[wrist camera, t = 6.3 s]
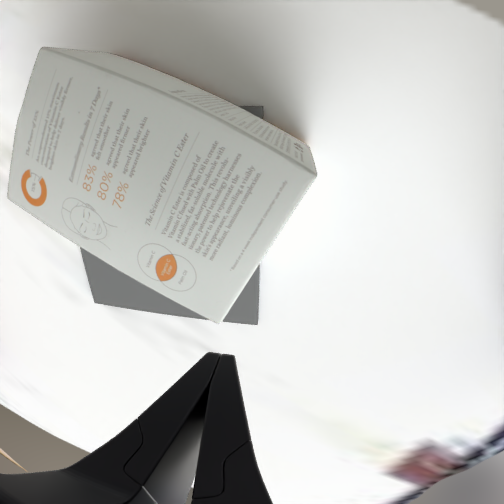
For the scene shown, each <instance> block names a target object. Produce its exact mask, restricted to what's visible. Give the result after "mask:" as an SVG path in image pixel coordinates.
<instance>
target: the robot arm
mask: <svg viewBox="0 0 504 504" xmlns="http://www.w3.org/2000/svg"><path fill="white" fill-rule="evenodd" d="M195 474H196V475H195ZM194 477H195V482H194V489H193V495H192V502H191V504H273V503H272V501H271V498H270V496H269V493H268V491H267V489H266V486H265V484H264V482H263V479H262V476H261V474H260V471H259V468H258V465H257V461H256V457H255V454H254V449H253V445H252V441H251V436H250V431H249V426H248V421H247V416H246V411H245V406H244V401H243V396H242V391H241V386H240V381H239V376H238V370H237V365H236V360H235V356H234V355H229V354H222V355H221V354H220V353H213V352H208V353H206V354H205V355H204V356H203V357H202V358H201V359H200V360H199V361H198V362H197V363H196V364H195V365H194V366H193V367H192V368H191V369H190V370H189V371H188V372H186V373H185V374H184V375H183V376H182V377H181V378H180V379H179V380H178V381H177V382H176V383H175V384H174V385H173V386H171V387H170V388H169V389H168V390H167V391H166V392H165V393H164V394H163V395H162V396H161V397H160V398H158V399H157V400H156V401H155V402H154V403H153V404H152V405H151V406H150V407H149V408H148V409H146V410H145V411H144V412H143V413H142V414H141V415H140V416H139V417H138V419H135V420H134V421H133V422H132V423H131V424H130V425H128V426H127V427H126V428H125V429H124V430H123V431H121V432H120V433H119V434H118V435H116V436H115V437H114V438H112V439H111V440H109V441H108V442H107V443H105V444H104V445H102V446H101V447H99V448H98V449H96V450H95V451H93V452H92V453H90V454H89V455H87V456H86V457H84V458H83V459H81V460H80V461H78V462H77V463H75V464H73V465H71V466H69V467H66V468H63V469H60V470H54V471H45V472H35V473H22V474H0V504H185V502H186V500H187V497H188V494H189V491H190V488H191V485H192V483H193V480H194Z"/></svg>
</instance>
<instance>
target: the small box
mask: <svg viewBox="0 0 504 504" xmlns="http://www.w3.org/2000/svg"><path fill="white" fill-rule="evenodd" d="M316 177H317V171H316V167H315V163H314V160H313V156H312V153H311V150H310V147H309V146H308V145H307V144H305V143H304V142H302V141H300V140H298V139H297V138H295V137H293V136H292V135H290V134H288V133H286V132H285V131H283V130H281V129H279V128H277V127H276V126H274V125H272V124H270V123H268V122H266V121H265V120H263V119H261V118H259V117H257V116H255V115H253V114H252V113H250V112H248V111H246V110H244V109H242V108H240V107H238V106H236V105H234V104H232V103H230V102H228V101H226V100H224V99H222V98H220V97H218V96H215V95H213V94H211V93H209V92H206V91H204V90H202V89H200V88H198V87H195V86H193V85H191V84H189V83H186V82H184V81H182V80H180V79H177V78H175V77H173V76H170V75H168V74H165V73H163V72H160V71H158V70H155V69H153V68H151V67H148V66H145V65H143V64H140V63H137V62H135V61H132V60H129V59H126V58H123V57H120V56H117V55H114V54H111V53H102V52H93V51H84V50H74V49H62V48H50V47H42V48H41V49H40V51H39V53H38V56H37V59H36V62H35V65H34V68H33V71H32V74H31V77H30V80H29V84H28V87H27V91H26V94H25V98H24V101H23V105H22V108H21V111H20V114H19V117H18V121H17V125H16V130H15V137H14V145H13V152H12V159H11V166H10V174H9V182H8V193H7V197H8V199H9V200H10V201H12V202H13V203H15V204H16V205H18V206H19V207H21V208H22V209H23V210H25V211H26V212H28V213H29V214H31V215H32V216H34V217H35V218H37V219H38V220H40V221H41V222H43V223H44V224H46V225H47V226H49V227H50V228H52V229H53V230H55V231H56V232H58V233H59V234H61V235H62V236H64V237H65V238H67V239H68V240H70V241H72V242H73V243H75V244H77V245H78V246H80V247H81V248H83V249H85V250H86V251H88V252H90V253H91V254H93V255H95V256H96V257H98V258H99V259H101V260H103V261H104V262H106V263H107V264H109V265H111V266H112V267H114V268H116V269H117V270H119V271H121V272H123V273H124V274H126V275H128V276H130V277H131V278H133V279H135V280H136V281H138V282H140V283H142V284H144V285H145V286H147V287H149V288H151V289H153V290H155V291H156V292H158V293H160V294H162V295H164V296H165V297H167V298H169V299H171V300H173V301H175V302H177V303H178V304H180V305H182V306H184V307H186V308H188V309H190V310H192V311H194V312H196V313H198V314H199V315H201V316H203V317H205V318H207V319H209V320H211V321H213V322H215V323H217V324H220V323H222V321H223V319H224V318H225V316H226V315H227V313H228V312H229V310H230V308H231V307H232V305H233V304H234V302H235V301H236V299H237V298H238V296H239V295H240V293H241V292H242V290H243V289H244V287H245V285H246V284H247V282H248V281H249V279H250V278H251V276H252V275H253V273H254V272H255V270H256V268H257V267H258V265H259V264H260V262H261V261H262V259H263V258H264V256H265V255H266V253H267V252H268V250H269V249H270V247H271V246H272V244H273V243H274V241H275V239H276V238H277V236H278V235H279V233H280V232H281V230H282V229H283V227H284V226H285V224H286V222H287V221H288V219H289V218H290V216H291V215H292V213H293V212H294V210H295V209H296V207H297V206H298V204H299V203H300V201H301V200H302V198H303V196H304V195H305V193H306V192H307V190H308V189H309V187H310V186H311V185H312V183H313V182H314V180H315V179H316Z"/></svg>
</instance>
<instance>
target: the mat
mask: <svg viewBox="0 0 504 504" xmlns="http://www.w3.org/2000/svg"><path fill="white" fill-rule="evenodd" d="M238 107H240V108H242V109H244V110H246V111H248V112H250V113H252V114H253V115H255V116H257V117H259V118H261V119H263V107H258V106H238ZM80 249H81V253H82V257H83V261H84V265H85V269H86V273H87V277H88V281H89V284H90V288H91V291H92V295H93V298H94V302H95V303H98V304H104V305H110V306H115V307H121V308H127V309H134V310H140V311H146V312H153V313H160V314H167V315H174V316H182V317H189V318H197V319H205V320H209V319H207V318H205V317H203V316H201V315H199V314H198V313H196V312H194V311H192V310H190V309H188V308H186V307H184V306H182V305H180V304H178V303H177V302H175V301H173V300H171V299H169V298H167V297H165V296H164V295H162V294H160V293H158V292H156V291H155V290H153V289H151V288H149V287H147V286H145V285H144V284H142V283H140V282H138V281H136V280H135V279H133V278H131V277H130V276H128V275H126V274H124V273H123V272H121V271H119V270H117V269H116V268H114V267H112V266H111V265H109V264H107V263H106V262H104V261H103V260H101V259H99V258H98V257H96V256H95V255H93V254H91V253H90V252H88V251H86V250H85V249H83V248H81V247H80ZM259 266H260V264H259V265H258V267H257V268H256V270H255V272H254V273H253V275H252V276H251V278H250V279H249V281H248V282H247V284H246V285H245V287H244V289H243V290H242V292H241V293H240V295H239V296H238V298H237V299H236V301H235V302H234V304H233V305H232V307H231V308H230V310H229V312H228V313H227V315H226V316H225V318H224V319H223V322H232V323H241V324H251V325H258V303H259Z"/></svg>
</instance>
